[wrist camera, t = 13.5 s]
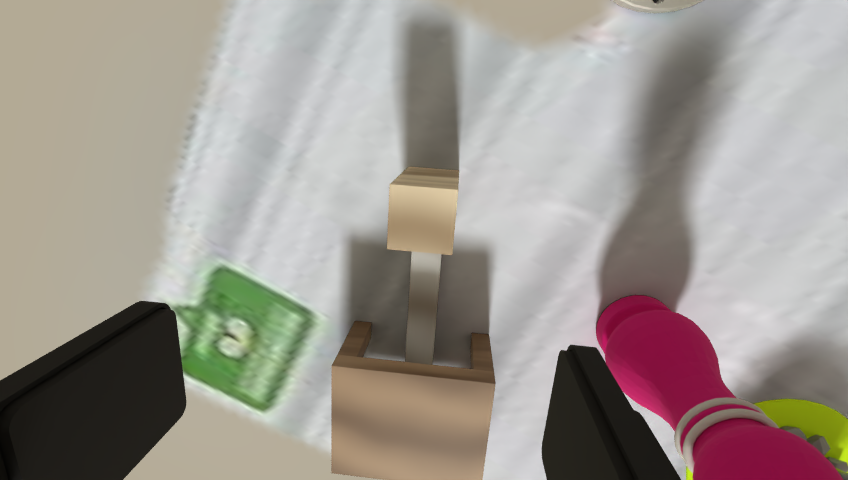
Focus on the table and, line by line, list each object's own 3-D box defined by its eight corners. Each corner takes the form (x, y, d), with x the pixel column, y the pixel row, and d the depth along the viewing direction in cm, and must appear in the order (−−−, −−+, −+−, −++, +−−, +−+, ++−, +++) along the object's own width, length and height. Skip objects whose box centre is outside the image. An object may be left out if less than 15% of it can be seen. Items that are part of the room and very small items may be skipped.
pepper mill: (577, 307, 35) (720, 538, 16) (664, 275, 33) (937, 488, 14) (605, 376, 36) (764, 661, 17) (689, 348, 35) (963, 627, 16)
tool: (408, 166, 33) (389, 184, 24) (459, 170, 32) (458, 189, 24) (398, 353, 38) (379, 423, 29) (441, 358, 37) (435, 430, 29)
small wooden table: (355, 320, 37) (331, 365, 30) (488, 334, 36) (495, 383, 30) (353, 413, 40) (331, 473, 33) (477, 427, 39) (480, 491, 32)
